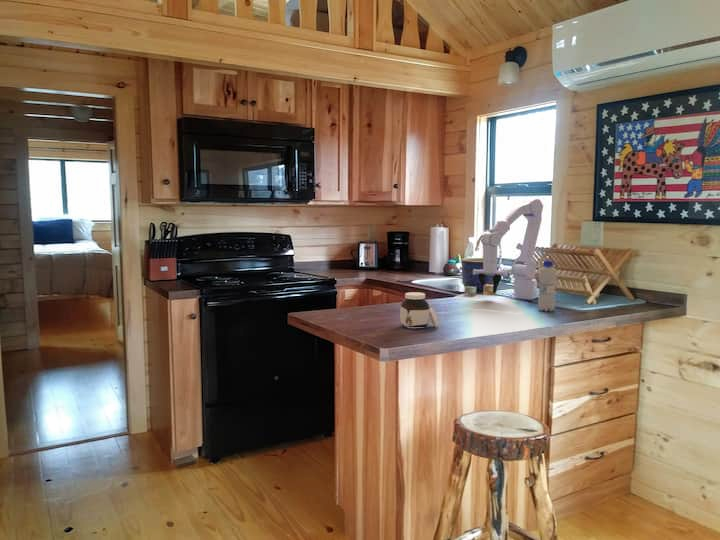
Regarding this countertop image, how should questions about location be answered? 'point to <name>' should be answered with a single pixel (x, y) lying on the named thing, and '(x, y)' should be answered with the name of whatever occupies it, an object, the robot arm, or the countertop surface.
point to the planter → (471, 278)
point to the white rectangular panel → (479, 298)
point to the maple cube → (488, 290)
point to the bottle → (547, 287)
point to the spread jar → (417, 311)
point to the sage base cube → (470, 291)
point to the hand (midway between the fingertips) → (489, 291)
